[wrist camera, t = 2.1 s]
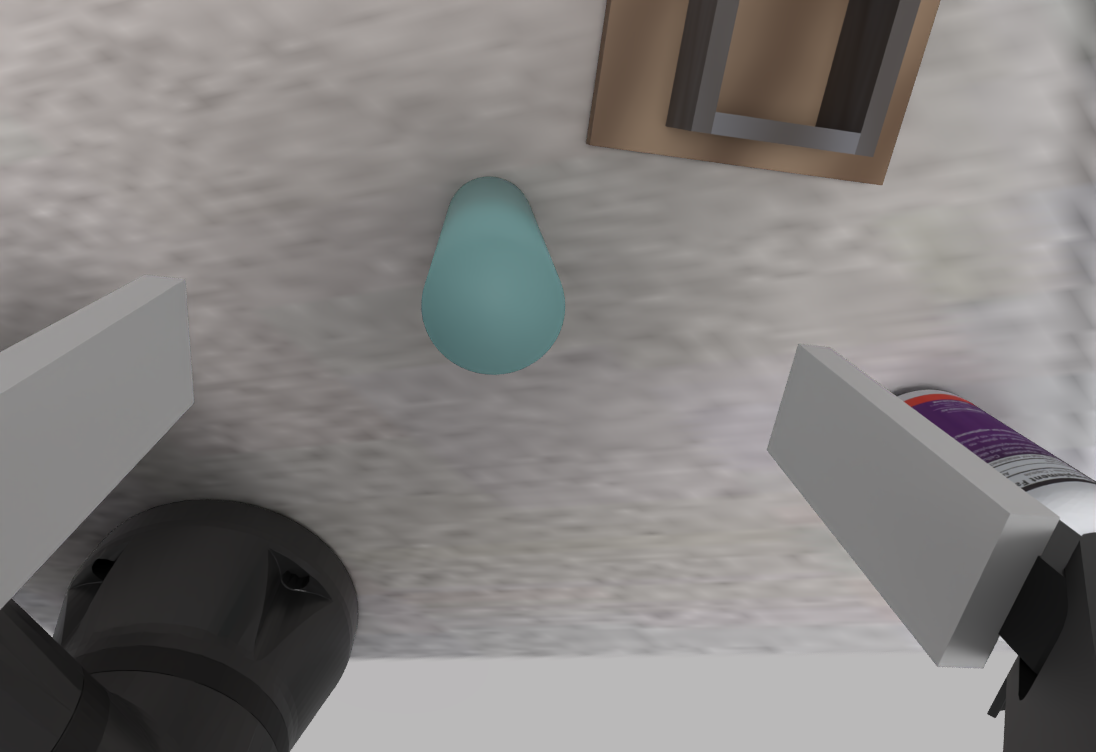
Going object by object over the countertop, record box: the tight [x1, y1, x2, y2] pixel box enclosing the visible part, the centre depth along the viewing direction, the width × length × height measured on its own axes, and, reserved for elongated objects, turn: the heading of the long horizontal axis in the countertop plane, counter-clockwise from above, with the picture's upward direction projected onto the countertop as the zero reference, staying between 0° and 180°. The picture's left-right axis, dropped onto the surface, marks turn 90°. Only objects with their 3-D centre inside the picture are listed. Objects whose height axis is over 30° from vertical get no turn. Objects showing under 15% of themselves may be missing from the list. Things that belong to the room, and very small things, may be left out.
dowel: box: [422, 177, 565, 375], centre depth 25 cm, size 4×4×14 cm
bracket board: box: [586, 0, 940, 185], centre depth 27 cm, size 14×12×5 cm
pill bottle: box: [897, 390, 1096, 643], centre depth 32 cm, size 8×8×14 cm
